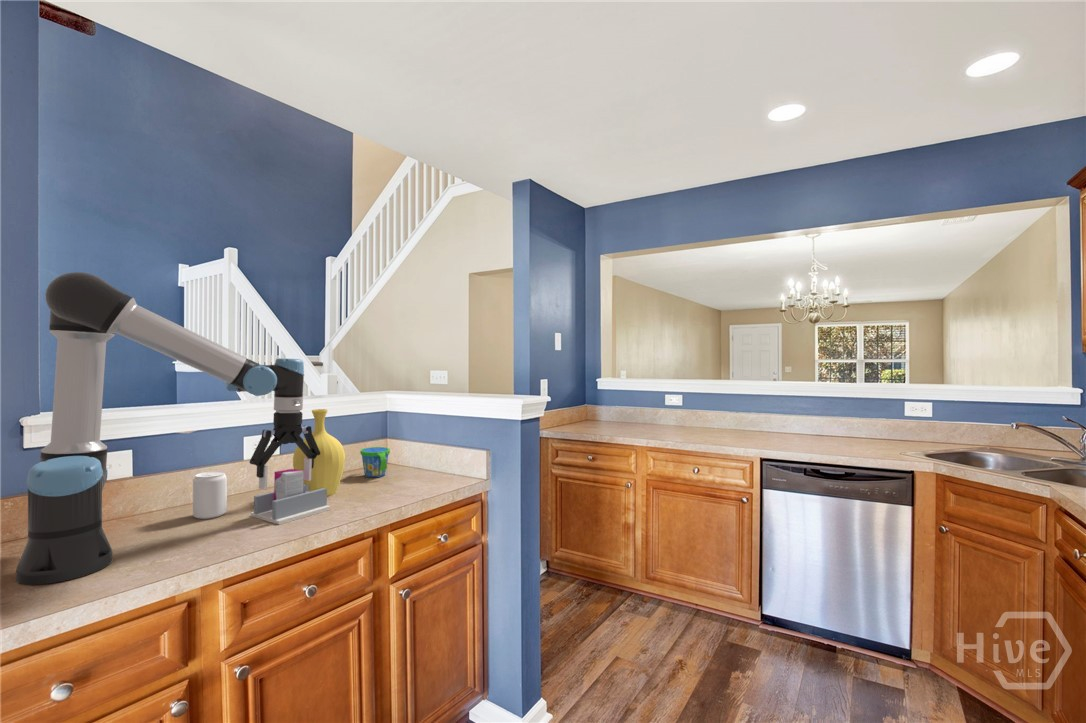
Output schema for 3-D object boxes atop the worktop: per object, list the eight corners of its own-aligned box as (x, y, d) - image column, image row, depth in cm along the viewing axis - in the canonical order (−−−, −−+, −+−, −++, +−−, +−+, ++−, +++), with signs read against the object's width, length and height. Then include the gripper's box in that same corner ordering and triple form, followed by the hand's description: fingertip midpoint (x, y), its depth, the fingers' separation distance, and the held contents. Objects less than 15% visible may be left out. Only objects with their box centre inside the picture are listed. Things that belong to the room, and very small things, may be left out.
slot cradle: (279, 524, 139) (279, 502, 139) (250, 515, 146) (250, 495, 146) (330, 509, 153) (330, 489, 153) (301, 502, 160) (301, 483, 160)
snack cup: (395, 478, 191) (395, 451, 191) (367, 482, 185) (367, 454, 185) (382, 470, 204) (382, 444, 204) (355, 473, 198) (355, 447, 198)
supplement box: (303, 509, 150) (303, 470, 149) (284, 514, 145) (284, 474, 144) (292, 505, 153) (292, 467, 153) (273, 510, 148) (273, 471, 147)
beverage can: (210, 521, 141) (210, 478, 141) (185, 518, 143) (185, 476, 143) (233, 512, 149) (233, 471, 149) (210, 510, 151) (210, 470, 151)
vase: (350, 495, 167) (350, 411, 167) (296, 503, 158) (297, 413, 158) (339, 485, 181) (339, 406, 180) (289, 491, 172) (289, 408, 171)
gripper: (252, 415, 135) (249, 495, 135) (333, 409, 157) (331, 478, 157) (237, 413, 139) (234, 490, 139) (318, 407, 161) (316, 474, 161)
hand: (285, 484), depth 148 cm, fingers open, 13 cm apart
